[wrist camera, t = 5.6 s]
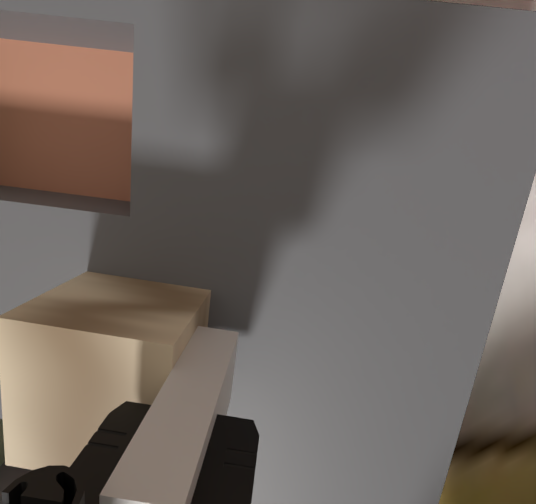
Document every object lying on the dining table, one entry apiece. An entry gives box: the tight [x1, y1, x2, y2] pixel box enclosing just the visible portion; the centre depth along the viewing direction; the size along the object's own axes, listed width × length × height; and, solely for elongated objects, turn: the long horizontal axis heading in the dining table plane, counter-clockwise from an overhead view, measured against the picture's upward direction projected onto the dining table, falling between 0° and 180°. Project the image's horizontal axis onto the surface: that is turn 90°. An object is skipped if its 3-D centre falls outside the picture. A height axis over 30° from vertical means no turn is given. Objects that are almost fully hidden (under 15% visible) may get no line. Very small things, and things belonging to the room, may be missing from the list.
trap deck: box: [0, 0, 536, 504], centre depth 17 cm, size 34×26×4 cm
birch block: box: [0, 271, 211, 470], centre depth 12 cm, size 5×5×4 cm
